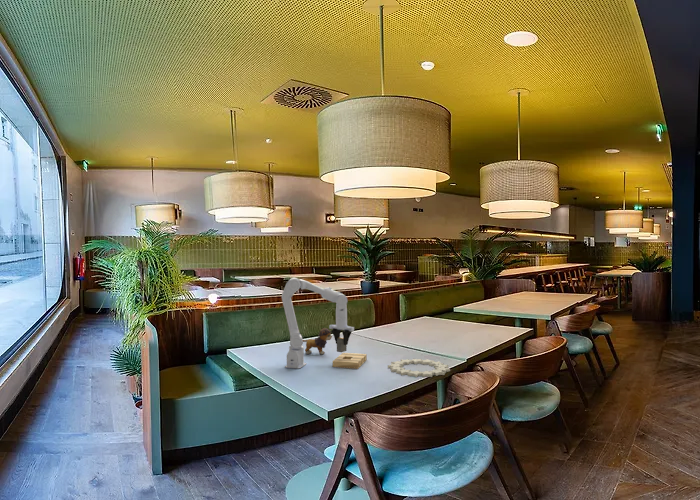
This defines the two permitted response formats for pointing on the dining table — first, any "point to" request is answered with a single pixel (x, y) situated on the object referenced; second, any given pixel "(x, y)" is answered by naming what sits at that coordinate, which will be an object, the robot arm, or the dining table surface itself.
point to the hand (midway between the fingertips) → (341, 344)
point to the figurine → (318, 341)
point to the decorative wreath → (439, 370)
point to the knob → (341, 345)
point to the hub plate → (349, 360)
